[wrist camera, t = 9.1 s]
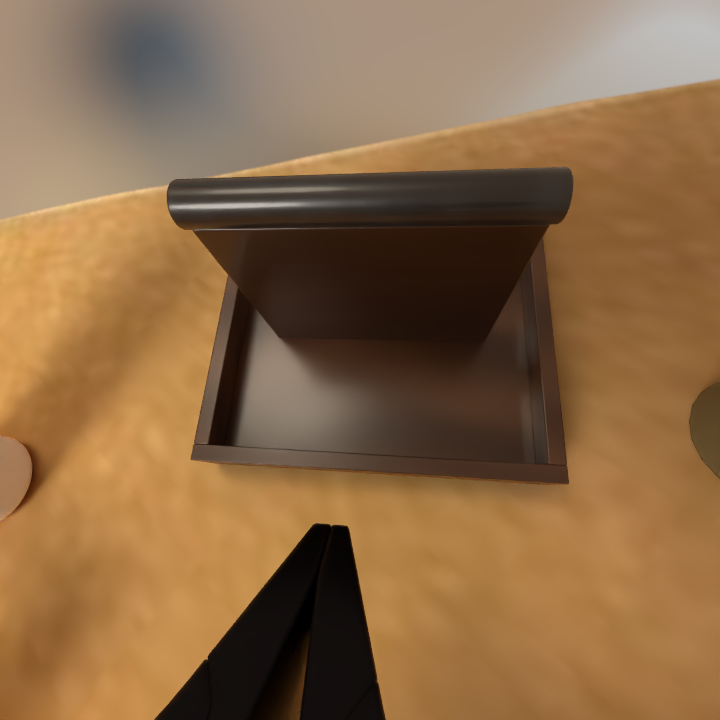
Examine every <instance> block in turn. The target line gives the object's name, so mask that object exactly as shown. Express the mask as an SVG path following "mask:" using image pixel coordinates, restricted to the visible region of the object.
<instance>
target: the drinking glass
mask: <svg viewBox="0 0 720 720" xmlns="http://www.w3.org/2000/svg"><path fill="white" fill-rule="evenodd" d="M31 477H32V461H31V457H30V454H29V452H28V451H27V449H26V448H25V447H24V445H23V444H21V443H20V442H19V441H17V440H15V439H13V438H11V437H7V436H3V435H0V522H1V521H2V520H4V519H5V518H6V517H7V516H9V515H10V514H11V513H12V512H13V511H14V510H15V509H16V508H17V506H18V505H19V504H20V502H21V501H22V500H23V498H24V496H25V494H26V492H27V490H28V488H29V485H30V482H31Z"/></svg>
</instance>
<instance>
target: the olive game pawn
mask: <svg viewBox="0 0 720 720" xmlns="http://www.w3.org/2000/svg"><path fill="white" fill-rule="evenodd" d="M689 423H690V429H691V435H692V440H693V442H694V444H695V446H696V448H697V450H698V452H699V454H700V456H701V458H702V459H703V461H704V462H705V463H706V464H707V465H708V466H709V467H710V468H711V470H712V471H713V472H714V473H715V474H716V475H717V476H718V477H720V382H718V383H715V384H714V385H712V386H710V387H709V388H707V389H706V390H704V391H703V392H701V394H700V395H699V397H698V398H697V400H696V401H695V403H694V404H693V406H692V411H691V416H690V421H689Z"/></svg>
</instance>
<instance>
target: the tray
mask: <svg viewBox="0 0 720 720" xmlns="http://www.w3.org/2000/svg"><path fill="white" fill-rule="evenodd" d="M572 193H573V175H572V171H571V170H570V168H568V167H546V168H515V169H483V170H452V171H421V172H390V173H358V174H327V175H296V176H265V177H233V178H202V179H176V180H173V181H172V182H171V183H170V184H169V186H168V190H167V204H168V209H169V212H170V215H171V217H172V219H173V220H174V222H175V223H176V225H177V226H179V227H180V228H182V229H184V230H193V232H194V233H195V234H196V236H197V237H198V238H199V239H200V241H201V242H202V243H203V244H204V245H205V247H206V248H207V249H208V250H209V252H210V253H211V254H212V255H213V257H214V258H215V259H216V260H217V262H218V263H219V264H220V265H221V267H222V268H223V269H224V270H225V271H226V273H227V274H228V278H227V283H226V288H225V293H224V298H223V303H222V308H221V313H220V318H219V322H218V327H217V332H216V337H215V342H214V347H213V352H212V357H211V362H210V367H209V372H208V377H207V382H206V386H205V391H204V396H203V401H202V406H201V411H200V416H199V421H198V426H197V431H196V436H195V441H194V443H195V444H194V445H193V450H192V455H191V460H195V461H202V462H210V463H218V464H234V465H249V466H265V467H280V468H296V469H311V470H327V471H342V472H357V473H373V474H388V475H404V476H419V477H435V478H450V479H466V480H481V481H497V482H512V483H527V484H543V485H556V484H569V480H568V470H567V466H566V465H567V461H566V451H565V442H564V432H563V423H562V414H561V404H560V395H559V385H558V376H557V366H556V357H555V347H554V338H553V329H552V319H551V310H550V300H549V291H548V281H547V272H546V262H545V253H544V244H543V236H544V234H545V232H546V230H547V229H548V227H549V225H552V224H559V223H561V222H562V221H563V219H564V218H565V216H566V214H567V212H568V209H569V206H570V203H571V198H572Z"/></svg>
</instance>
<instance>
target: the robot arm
mask: <svg viewBox="0 0 720 720" xmlns="http://www.w3.org/2000/svg"><path fill="white" fill-rule="evenodd" d="M154 720H386V719H385V714H384V710H383V705H382V699H381V694H380V689H379V684H378V683H377V674H376V669H375V663H374V658H373V653H372V648H371V642H370V637H369V632H368V627H367V621H366V616H365V611H364V606H363V600H362V595H361V590H360V584H359V579H358V574H357V569H356V563H355V558H354V553H353V548H352V542H351V537H350V532H349V528H348V526H343V525H333V526H332V527H331V525H329V524H319V523H316V524H314V525H313V526H312V527H311V528H310V529H309V531H308V532H307V533H306V534H305V536H304V537H303V538H302V539H301V541H300V542H299V543H298V544H297V546H296V547H295V548H294V549H293V551H292V552H291V553H290V554H289V556H288V557H287V558H286V559H285V561H284V562H283V563H282V564H281V566H280V567H279V568H278V569H277V571H276V572H275V573H274V574H273V575H272V577H271V578H270V579H269V580H268V582H267V583H266V584H265V585H264V587H263V588H262V589H261V590H260V592H259V593H258V594H257V595H256V597H255V598H254V599H253V600H252V602H251V603H250V604H249V605H248V607H247V608H246V609H245V610H244V612H243V613H242V614H241V615H240V617H239V618H238V619H237V620H236V622H235V623H234V624H233V625H232V627H231V628H230V629H229V630H228V632H227V633H226V634H225V635H224V637H223V638H222V639H221V640H220V642H219V643H218V644H217V645H216V647H215V648H214V649H213V650H212V651H211V653H210V654H209V655H208V660H204V661H203V662H202V664H201V665H200V666H199V667H198V669H197V670H196V671H195V672H194V674H193V675H192V676H191V677H190V679H189V680H188V681H187V682H186V683H185V685H184V686H183V687H182V688H181V689H180V691H179V692H178V693H177V694H176V695H175V697H174V698H173V699H172V700H171V701H170V703H169V704H168V705H167V706H166V707H165V708H164V709H163V711H162V712H161V713H160V714H159V715H158V716H157V717H156V718H155V719H154Z"/></svg>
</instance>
